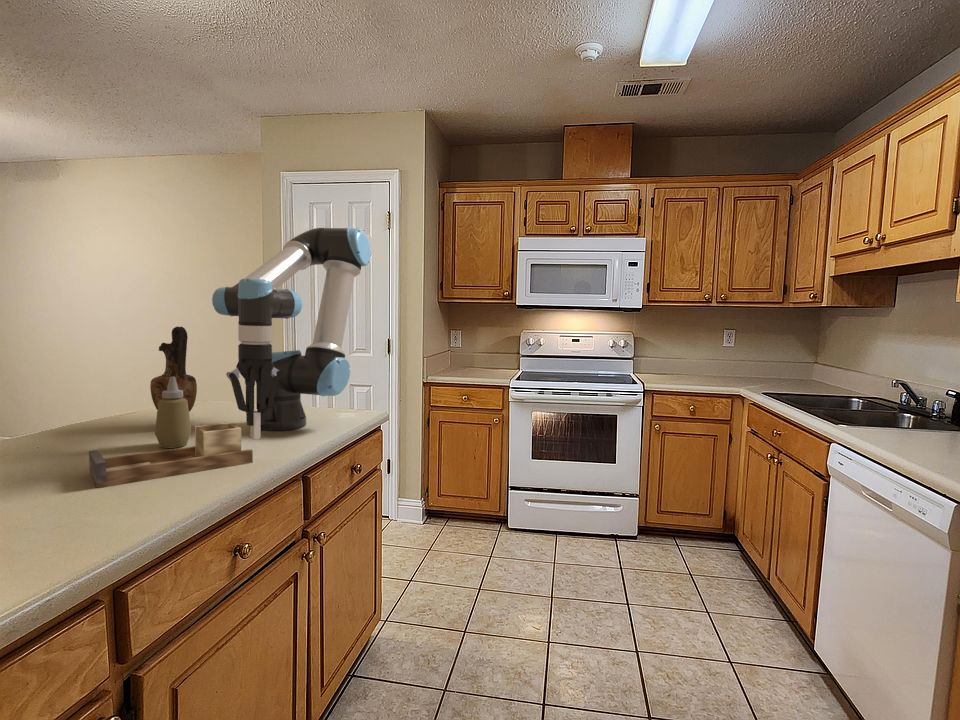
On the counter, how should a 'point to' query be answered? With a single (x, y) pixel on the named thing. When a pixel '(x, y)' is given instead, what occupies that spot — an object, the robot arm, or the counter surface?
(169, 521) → the counter surface
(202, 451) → the crate
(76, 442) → the counter surface
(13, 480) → the counter surface
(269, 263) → the robot arm
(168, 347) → the vase
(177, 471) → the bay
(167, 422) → the squeeze bottle
